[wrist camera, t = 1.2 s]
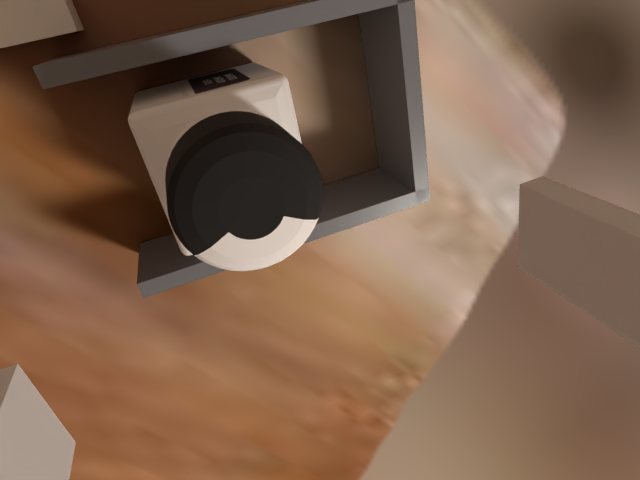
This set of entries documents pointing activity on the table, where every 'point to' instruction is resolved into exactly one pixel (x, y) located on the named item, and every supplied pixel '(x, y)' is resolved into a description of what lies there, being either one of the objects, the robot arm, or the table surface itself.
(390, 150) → the bay
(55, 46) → the table surface
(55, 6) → the tray
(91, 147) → the table surface
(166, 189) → the container
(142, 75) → the table surface
